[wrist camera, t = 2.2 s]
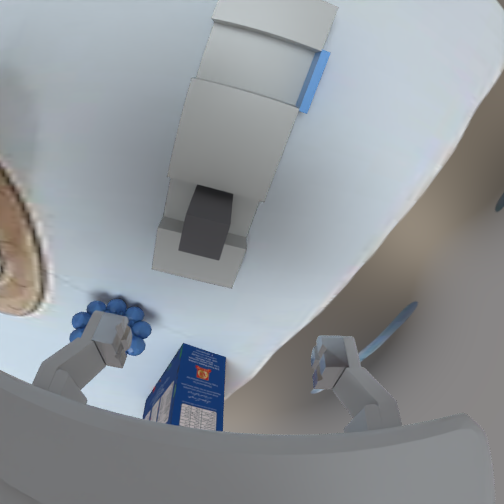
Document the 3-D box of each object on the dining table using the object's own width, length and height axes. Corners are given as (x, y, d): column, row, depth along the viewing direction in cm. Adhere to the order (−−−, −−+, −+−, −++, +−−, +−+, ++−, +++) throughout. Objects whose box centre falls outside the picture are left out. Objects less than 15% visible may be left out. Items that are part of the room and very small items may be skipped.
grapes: (87, 305, 43) (60, 363, 33) (89, 277, 40) (57, 338, 30) (151, 329, 46) (135, 391, 36) (159, 303, 43) (141, 370, 33)
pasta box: (176, 409, 64) (166, 512, 41) (146, 399, 62) (129, 505, 39) (225, 357, 50) (220, 512, 28) (183, 342, 48) (162, 504, 25)
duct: (157, 258, 38) (151, 275, 35) (231, -17, 19) (229, -27, 16) (236, 277, 40) (236, 295, 37) (336, 16, 21) (346, 10, 18)
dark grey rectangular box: (189, 215, 33) (178, 250, 27) (197, 183, 31) (185, 214, 25) (223, 223, 34) (219, 260, 28) (233, 192, 32) (230, 225, 26)
